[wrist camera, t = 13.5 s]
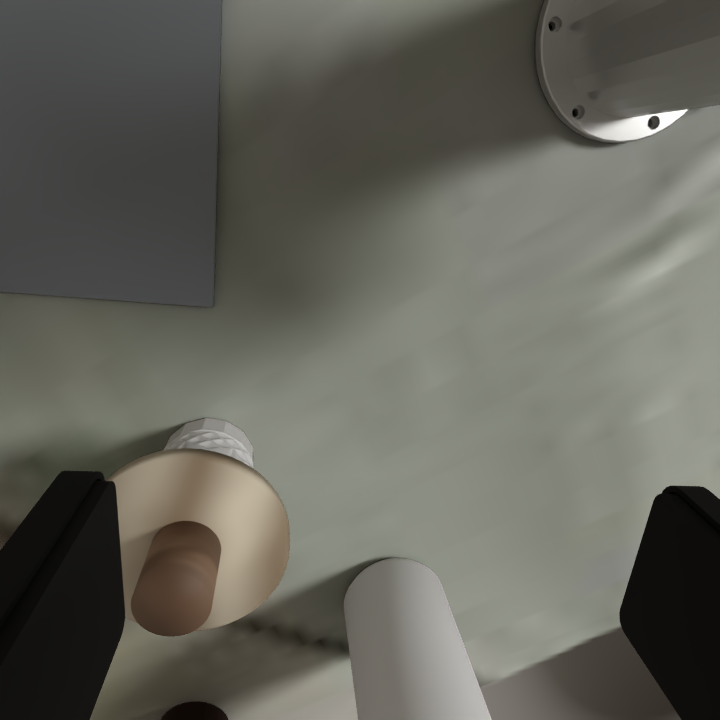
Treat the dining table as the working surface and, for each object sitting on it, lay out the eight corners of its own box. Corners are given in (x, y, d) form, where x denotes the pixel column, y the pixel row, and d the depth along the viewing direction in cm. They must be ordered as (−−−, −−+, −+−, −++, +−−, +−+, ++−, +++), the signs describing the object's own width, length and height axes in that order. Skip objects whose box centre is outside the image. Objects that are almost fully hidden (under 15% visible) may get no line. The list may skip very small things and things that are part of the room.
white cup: (176, 512, 44) (147, 604, 35) (141, 425, 42) (99, 500, 32) (273, 486, 45) (270, 571, 35) (245, 398, 42) (233, 465, 33)
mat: (222, -24, 33) (221, -27, 33) (214, 305, 39) (213, 307, 39) (-159, -86, 30) (-167, -91, 30) (-103, 282, 36) (-109, 283, 36)
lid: (292, 449, 33) (294, 502, 28) (286, 613, 37) (286, 688, 31) (75, 447, 31) (32, 504, 26) (92, 620, 35) (57, 700, 30)
